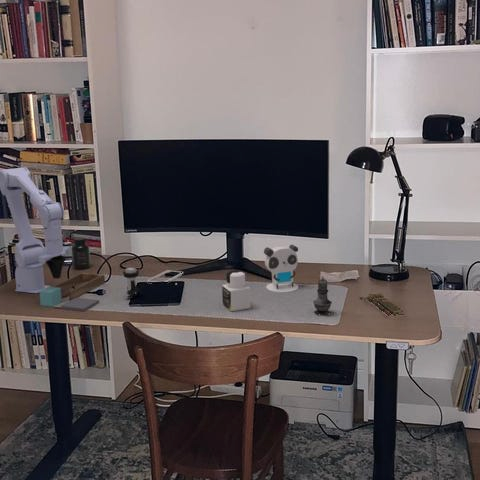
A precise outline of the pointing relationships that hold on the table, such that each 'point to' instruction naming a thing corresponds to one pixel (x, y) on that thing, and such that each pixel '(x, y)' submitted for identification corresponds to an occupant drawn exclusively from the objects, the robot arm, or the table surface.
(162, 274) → the phone case
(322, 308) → the dark grey chess piece
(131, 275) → the push button
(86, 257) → the supplement bottle
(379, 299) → the olive brown jagged slab
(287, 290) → the panda figurine
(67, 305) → the pad
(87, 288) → the channel
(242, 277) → the medicine bottle
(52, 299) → the block
